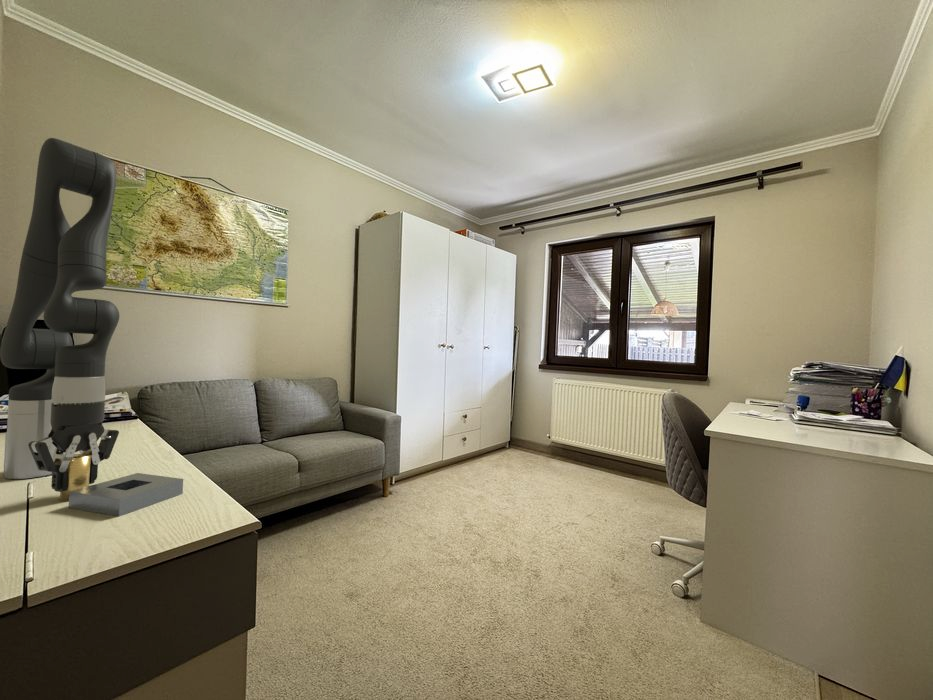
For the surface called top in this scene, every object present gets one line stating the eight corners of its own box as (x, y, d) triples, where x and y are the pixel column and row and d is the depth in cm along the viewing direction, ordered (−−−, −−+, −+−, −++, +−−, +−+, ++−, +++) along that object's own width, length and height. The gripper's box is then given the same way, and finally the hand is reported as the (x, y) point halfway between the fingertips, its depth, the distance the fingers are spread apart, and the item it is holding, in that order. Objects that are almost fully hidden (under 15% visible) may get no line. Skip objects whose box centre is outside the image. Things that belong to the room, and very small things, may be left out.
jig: (68, 507, 72) (69, 491, 72) (137, 487, 84) (137, 472, 84) (119, 516, 69) (119, 499, 69) (182, 493, 81) (183, 478, 81)
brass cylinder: (54, 499, 75) (56, 457, 76) (78, 492, 79) (81, 452, 79) (69, 502, 75) (72, 459, 75) (94, 494, 78) (96, 454, 79)
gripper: (105, 395, 85) (101, 474, 85) (17, 402, 71) (12, 497, 71) (132, 397, 83) (128, 478, 83) (47, 404, 69) (42, 502, 69)
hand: (74, 486), depth 77 cm, fingers closed on brass cylinder, 4 cm apart
